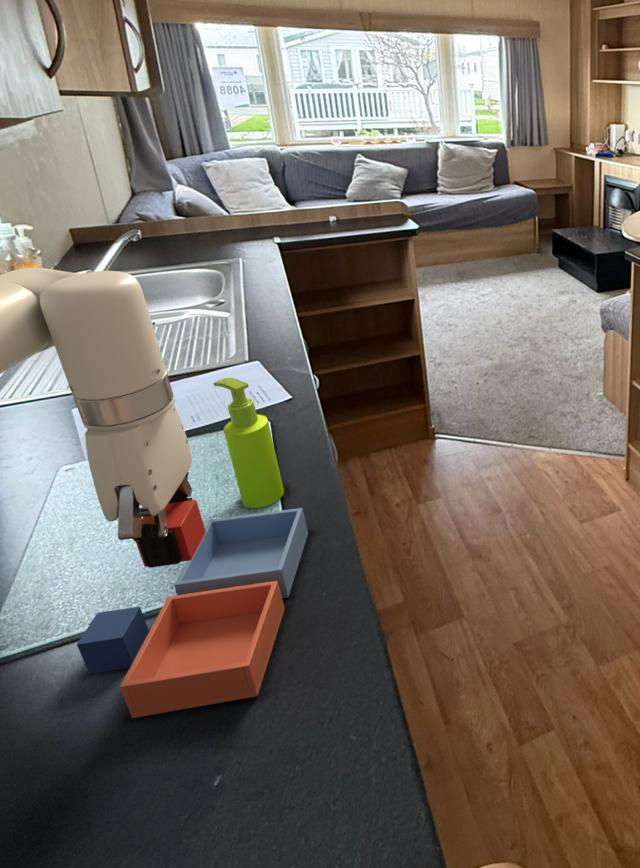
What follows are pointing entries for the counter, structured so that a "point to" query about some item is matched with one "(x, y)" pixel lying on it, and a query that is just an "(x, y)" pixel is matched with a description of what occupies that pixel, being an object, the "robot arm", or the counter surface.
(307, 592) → the counter surface
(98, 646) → the blue block
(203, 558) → the blue bin
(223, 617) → the red bin
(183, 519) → the red block
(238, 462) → the soap dispenser
